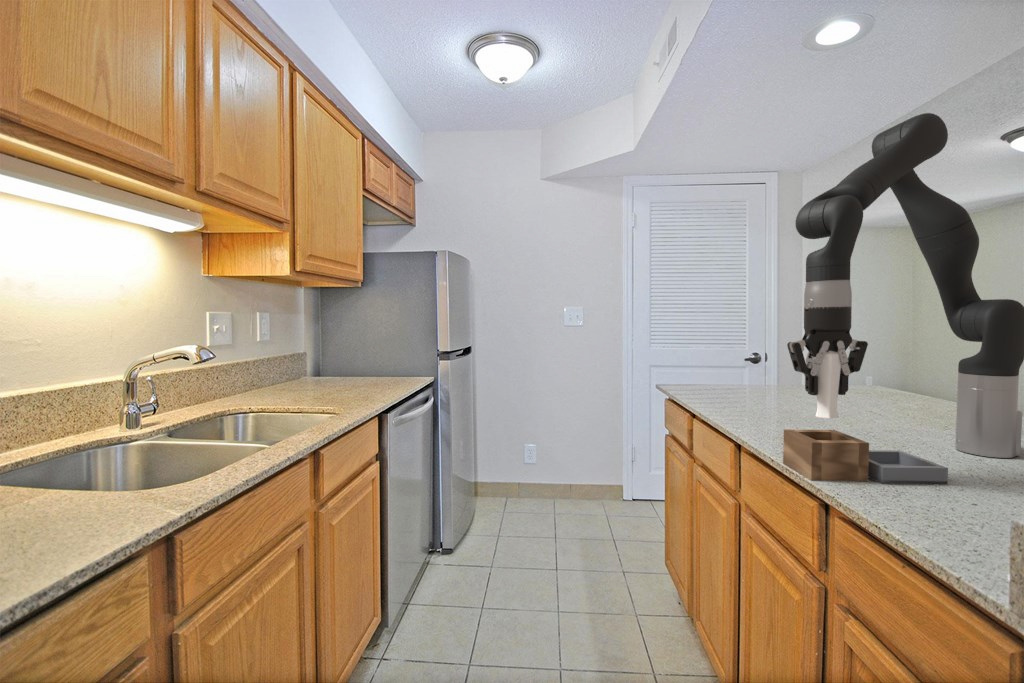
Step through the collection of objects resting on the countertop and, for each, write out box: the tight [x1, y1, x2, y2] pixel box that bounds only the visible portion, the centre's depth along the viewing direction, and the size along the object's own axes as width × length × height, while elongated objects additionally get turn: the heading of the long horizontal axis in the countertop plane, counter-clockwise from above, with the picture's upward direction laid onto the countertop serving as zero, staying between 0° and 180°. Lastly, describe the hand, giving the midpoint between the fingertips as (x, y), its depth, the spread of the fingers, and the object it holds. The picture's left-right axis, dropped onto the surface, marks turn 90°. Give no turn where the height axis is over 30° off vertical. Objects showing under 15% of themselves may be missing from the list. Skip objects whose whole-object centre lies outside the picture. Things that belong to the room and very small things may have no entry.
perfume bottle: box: [815, 351, 841, 419], centre depth 90 cm, size 5×4×15 cm
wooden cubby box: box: [782, 429, 870, 482], centre depth 90 cm, size 10×10×7 cm
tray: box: [868, 449, 949, 486], centre depth 89 cm, size 11×11×3 cm
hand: (826, 394), depth 90 cm, fingers closed on perfume bottle, 4 cm apart
